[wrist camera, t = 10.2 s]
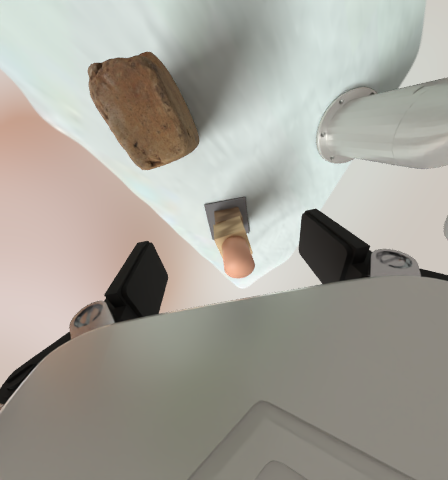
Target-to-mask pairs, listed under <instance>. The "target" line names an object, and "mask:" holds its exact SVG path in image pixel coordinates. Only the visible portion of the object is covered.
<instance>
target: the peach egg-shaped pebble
mask: <svg viewBox="0 0 448 480" xmlns="http://www.w3.org/2000/svg"><path fill="white" fill-rule="evenodd" d="M222 253H223V261H224V269H225V272H226V274H227V275H229V276H230V277H233V278H243V277H246V276H248V275H249V274H251V273H252V271H253V270H254V267H255V264H254V261H253V258H252V255H251V252H250V249H249V247H248V244H247V241H246V240H245V239H244V238H243V237H241V236H230V237H228V238H227V239H225V240H224V242H223V244H222Z"/></svg>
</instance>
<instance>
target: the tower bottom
mask: <svg viewBox="0 0 448 480" xmlns="http://www.w3.org/2000/svg"><path fill="white" fill-rule="evenodd" d="M214 216H215V224H218V223H221V222H223V221H226V220H229V219H232V218H234V217H237V216H240V218H241V221H242V223H243V218H242V215H241V212H240V210H239V208H238V207H235V208H230V209H224V210H219V211H214Z"/></svg>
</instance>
